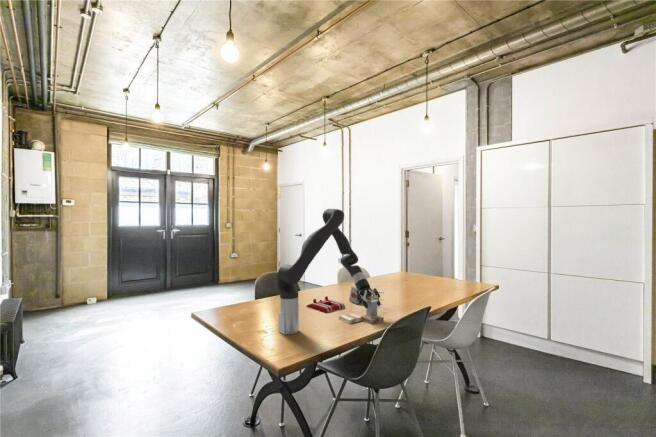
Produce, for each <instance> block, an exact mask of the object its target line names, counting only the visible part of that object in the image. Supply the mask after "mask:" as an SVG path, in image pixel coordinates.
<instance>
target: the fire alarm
mask: <svg viewBox="0 0 656 437" xmlns="http://www.w3.org/2000/svg"><path fill="white" fill-rule="evenodd" d="M312 302H313V303H309V304H307V305H305V308H308V309H311V310H315V311H319V312H322V313H325V314H329V313H331V312H335V311H340V310H343V309H345V308H346V306H345V304H344V303H343V302H341V301H336V300H333V299H329V297H328V296H324V300H322V299H319V301H317V299H316V298H314V299H313V300H312Z"/></svg>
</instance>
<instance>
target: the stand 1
mask: <svg viewBox="0 0 656 437" xmlns="http://www.w3.org/2000/svg"><path fill="white" fill-rule="evenodd" d="M338 320H339V321H341V322H344V323H346V324H354V323H357V322H363V321H362V317H361V316H360V315H357V314H354V313H352V312H350V313H346V314H343V315H339V316H338Z"/></svg>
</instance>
